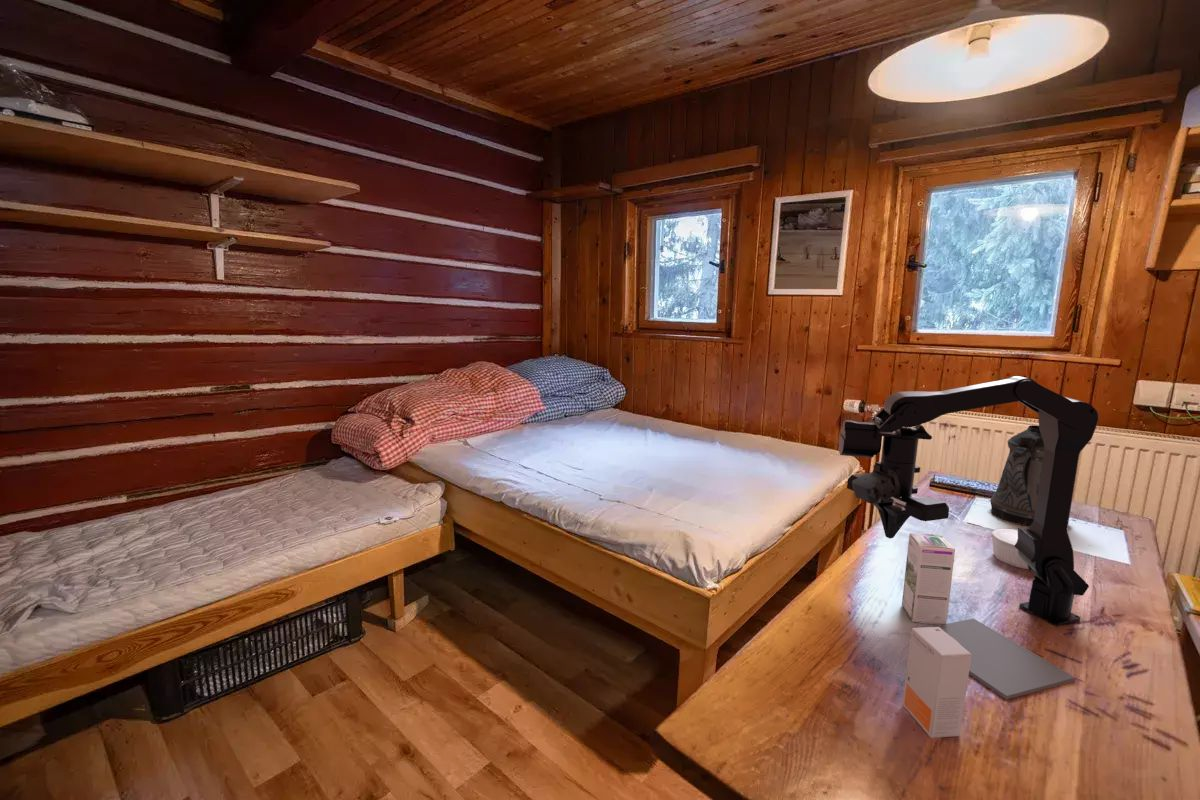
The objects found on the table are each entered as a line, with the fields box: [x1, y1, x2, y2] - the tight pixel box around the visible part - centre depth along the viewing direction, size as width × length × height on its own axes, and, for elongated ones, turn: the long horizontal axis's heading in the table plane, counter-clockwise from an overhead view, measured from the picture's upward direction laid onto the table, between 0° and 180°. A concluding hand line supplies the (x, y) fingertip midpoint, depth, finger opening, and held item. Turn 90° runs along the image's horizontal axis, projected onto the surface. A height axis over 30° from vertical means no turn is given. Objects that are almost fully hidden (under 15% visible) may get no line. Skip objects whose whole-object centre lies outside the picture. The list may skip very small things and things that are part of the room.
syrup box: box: [901, 532, 956, 626], centre depth 95 cm, size 6×6×14 cm
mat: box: [933, 617, 1076, 701], centre depth 85 cm, size 14×16×1 cm
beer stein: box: [990, 424, 1045, 528], centre depth 141 cm, size 16×19×25 cm
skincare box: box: [901, 626, 972, 739], centre depth 71 cm, size 6×4×12 cm
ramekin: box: [991, 528, 1029, 570], centre depth 118 cm, size 11×11×5 cm
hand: (889, 537), depth 103 cm, fingers closed
